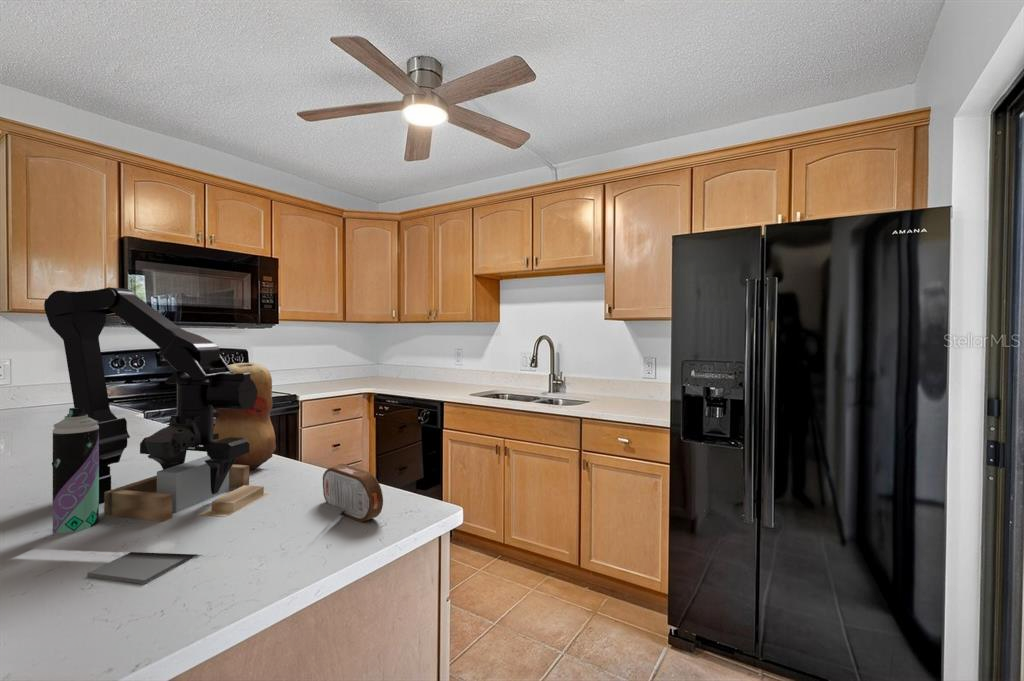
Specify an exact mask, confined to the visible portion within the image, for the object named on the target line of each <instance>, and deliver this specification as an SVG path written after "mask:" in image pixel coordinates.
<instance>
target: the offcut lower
mask: <svg viewBox="0 0 1024 681" xmlns="http://www.w3.org/2000/svg"><path fill="white" fill-rule="evenodd" d="M270 494H271V493H269V492H264V495H262V496H261V497H259V498H257V499H255V500H254V501H252V502H250V503H249V504H247V505H245V506H243V507H242V508H240V509H238V510H236V511H235V512H222V511H212V507H211V508H208V509H207V510H205V511H202V512H200V513H198V514H197V515H198V516H206V517H207V516H208V517H218V518H219V517H220V518H226V517H228V516H230V515H231V514H234V513H236V512H238V511H239V510H241V509H243V508H246V507H247V506H250V505H252V504H253V503H255V502H257V501H259V500H261V499H262V498H264V497H267V496H269V495H270Z"/></svg>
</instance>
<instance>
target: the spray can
mask: <svg viewBox="0 0 1024 681" xmlns="http://www.w3.org/2000/svg"><path fill="white" fill-rule="evenodd" d="M97 424H98V421H97V420H93V419H91V418H89V417H88V415H86V413H84V408H74V407H70V408H69V411H68V413H67V415H64V417H63V419H61V420H60V421H59V422H57V423H54V424H53V429H52V462H53V466H52V535H54V534H64V533H65V534H66V533H67V534H68V533H75V532H79V531H84V530H87V529H91V528H92V527H94V526H97V525H98V524H99V522H100V520H99V517H100V515H99V514H100V511H99V510H100V508H99V507H100V504H99V503H100V502H99V426H98V425H97Z"/></svg>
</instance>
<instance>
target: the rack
mask: <svg viewBox="0 0 1024 681" xmlns="http://www.w3.org/2000/svg"><path fill="white" fill-rule="evenodd" d="M244 485H247V486H250V470H249V466H247V465H235V464H233V465H232V467H231V468H230V470H229V487H236V488H240V487H242V486H244ZM103 502H104V505H103V506H104V508H103V512H104V514H103V515H104V516H106V517H108V516H109V517H116V518H117V517H118V518H127V519H137V520H143V521H144V520H145V521H156V522H163V523H164V522H166V521H169V520H171V519H173V512H172V495H171V494H161V493H157V474H156V475H153V476H149V477H147V478H144V479H141V480H138V481H135V482H132V483H129V484H126V485H123V486H120V487H115V488H113V489H111V490H109V491H106V492H104V501H103Z"/></svg>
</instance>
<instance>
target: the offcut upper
mask: <svg viewBox="0 0 1024 681" xmlns="http://www.w3.org/2000/svg"><path fill="white" fill-rule="evenodd" d="M264 491H265V486H263V485H248V486H247V485H244V486H242V487H237V488H236V489H234V490H232V491H229V492H228V493H226V494H224V495H222V496H220V497H218V498H216V499H214V500H212V501H211V508H212V511H222V512H234V513H236V512H237V511H236V510H238V509H240V508H241V509H243V508H244V507H243V506H245V505H247V504H249V503H250V502H252V501H254V500H255V499H257V498H259V497H261V496H262V495H264V493H265V492H264ZM249 505H250V504H249ZM247 506H248V505H247ZM242 507H243V508H242ZM245 507H246V506H245ZM241 509H240V510H241ZM235 511H236V512H235ZM238 511H239V510H238Z"/></svg>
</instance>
